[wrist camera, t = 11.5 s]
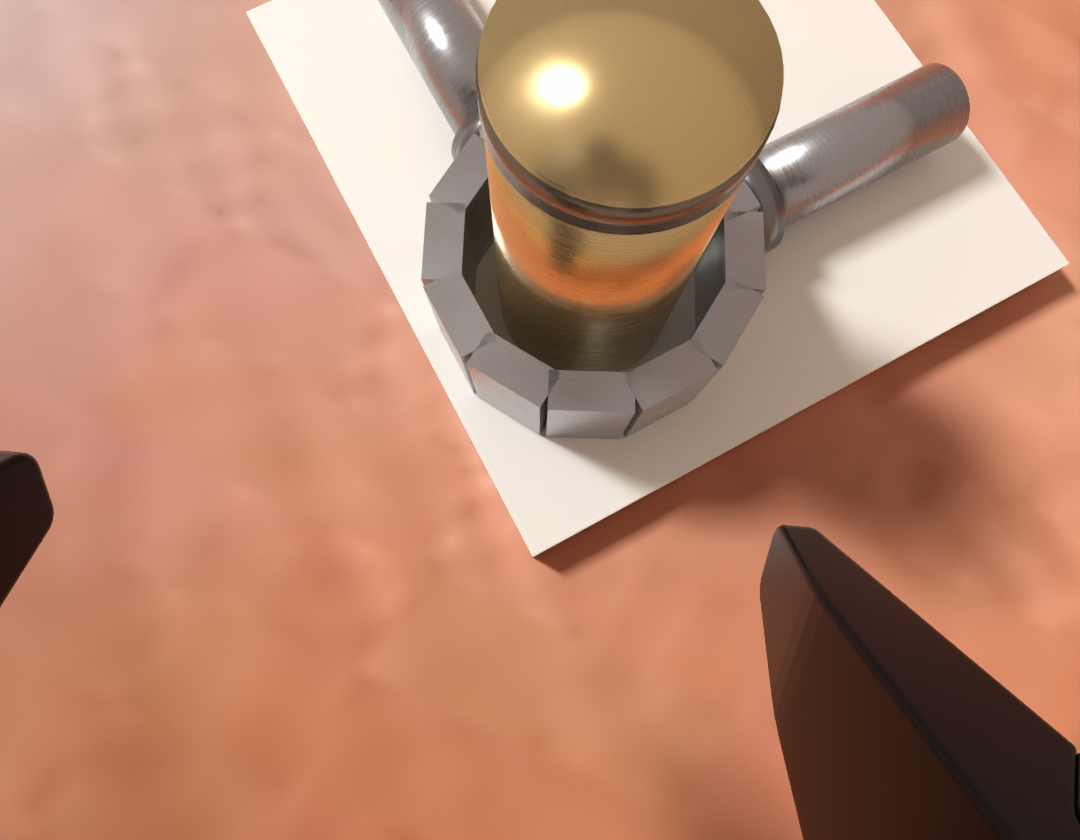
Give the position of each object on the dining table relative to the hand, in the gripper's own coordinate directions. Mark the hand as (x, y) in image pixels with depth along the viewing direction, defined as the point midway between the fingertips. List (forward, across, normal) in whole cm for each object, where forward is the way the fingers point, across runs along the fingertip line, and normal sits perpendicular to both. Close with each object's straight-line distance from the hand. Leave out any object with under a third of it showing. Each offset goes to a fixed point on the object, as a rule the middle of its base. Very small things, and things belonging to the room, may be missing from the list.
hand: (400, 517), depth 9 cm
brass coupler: (+14, -2, +2) cm, 14 cm away
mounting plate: (+18, -3, -2) cm, 19 cm away
